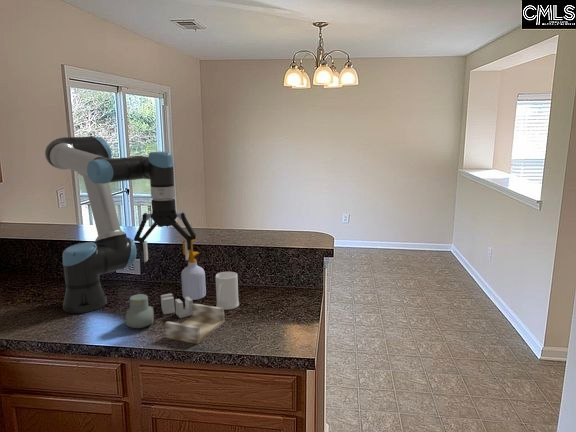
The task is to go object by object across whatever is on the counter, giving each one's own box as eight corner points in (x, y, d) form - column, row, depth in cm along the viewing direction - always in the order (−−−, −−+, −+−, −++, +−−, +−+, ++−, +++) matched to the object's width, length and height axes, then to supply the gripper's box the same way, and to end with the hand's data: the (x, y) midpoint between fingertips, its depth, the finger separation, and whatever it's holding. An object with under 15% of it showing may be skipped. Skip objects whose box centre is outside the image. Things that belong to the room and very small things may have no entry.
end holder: (165, 337, 139) (164, 323, 138) (195, 316, 154) (194, 303, 153) (197, 344, 134) (196, 329, 133) (225, 321, 150) (224, 307, 149)
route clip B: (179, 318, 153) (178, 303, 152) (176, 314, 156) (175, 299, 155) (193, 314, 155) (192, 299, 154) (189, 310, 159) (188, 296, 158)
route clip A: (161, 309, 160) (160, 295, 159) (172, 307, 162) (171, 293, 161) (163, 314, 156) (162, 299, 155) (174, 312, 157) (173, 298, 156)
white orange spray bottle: (210, 293, 175) (207, 234, 170) (198, 301, 167) (194, 240, 162) (190, 290, 178) (187, 232, 173) (178, 299, 170) (174, 238, 165)
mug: (228, 314, 155) (226, 283, 153) (207, 311, 158) (205, 280, 156) (243, 302, 166) (242, 272, 163) (223, 299, 169) (222, 270, 166)
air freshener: (130, 319, 152) (127, 292, 150) (154, 316, 154) (152, 290, 152) (125, 333, 142) (123, 304, 140) (152, 330, 144) (149, 302, 142)
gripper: (121, 201, 139) (126, 264, 143) (200, 199, 142) (203, 261, 146) (126, 197, 146) (131, 257, 151) (202, 196, 149) (204, 255, 154)
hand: (166, 259), depth 149 cm, fingers open, 13 cm apart
